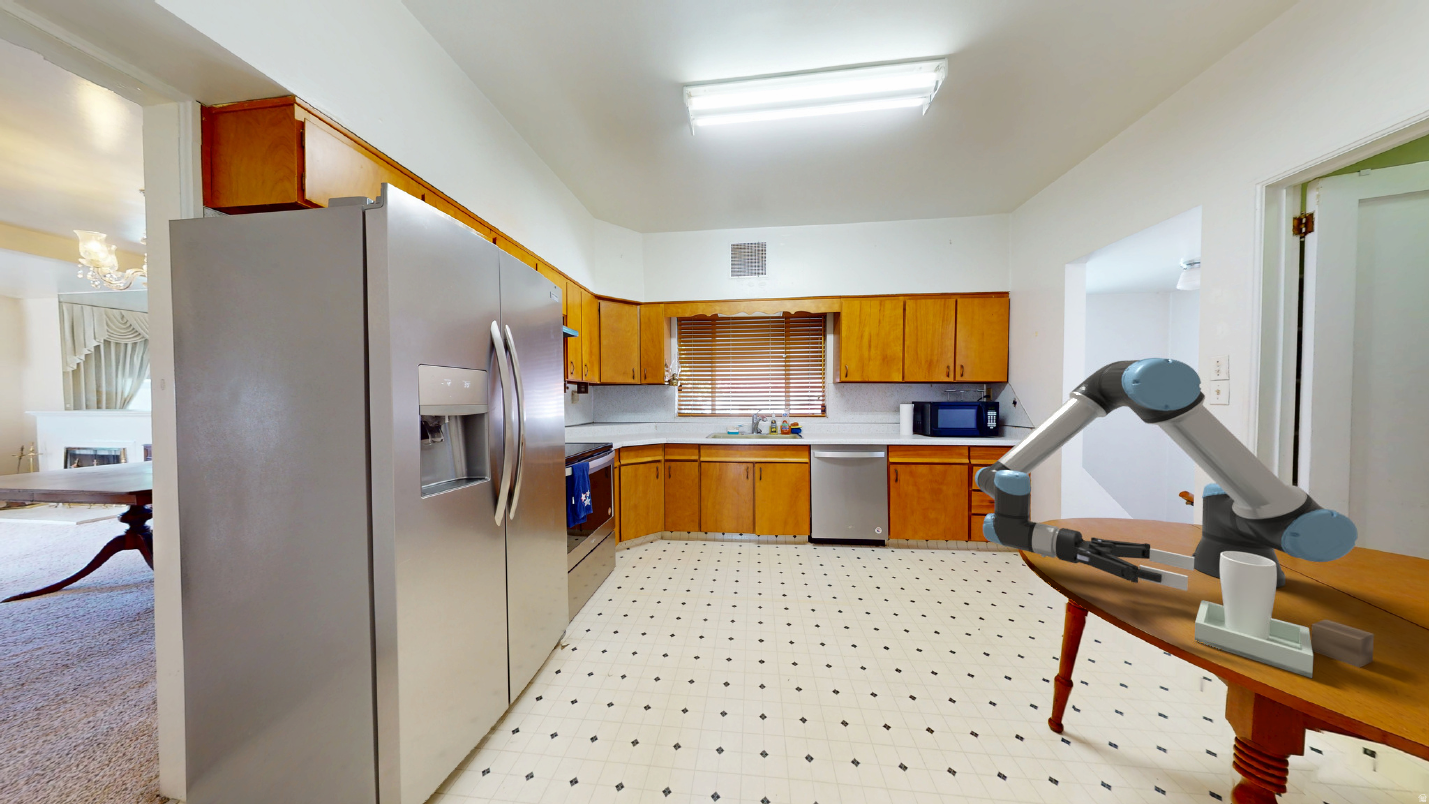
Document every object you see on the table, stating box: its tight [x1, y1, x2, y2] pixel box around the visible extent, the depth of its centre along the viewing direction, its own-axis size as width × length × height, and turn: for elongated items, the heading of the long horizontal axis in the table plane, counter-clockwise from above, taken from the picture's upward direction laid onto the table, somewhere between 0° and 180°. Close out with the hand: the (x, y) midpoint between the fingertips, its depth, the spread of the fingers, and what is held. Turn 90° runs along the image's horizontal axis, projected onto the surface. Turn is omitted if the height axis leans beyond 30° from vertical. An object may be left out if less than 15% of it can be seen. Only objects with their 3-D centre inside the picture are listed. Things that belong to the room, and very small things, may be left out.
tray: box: [1194, 599, 1314, 679], centre depth 80 cm, size 13×13×4 cm
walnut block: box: [1311, 618, 1375, 669], centre depth 76 cm, size 5×5×5 cm
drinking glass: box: [1219, 551, 1277, 640], centre depth 81 cm, size 7×7×15 cm
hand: (1191, 573), depth 85 cm, fingers open, 13 cm apart
